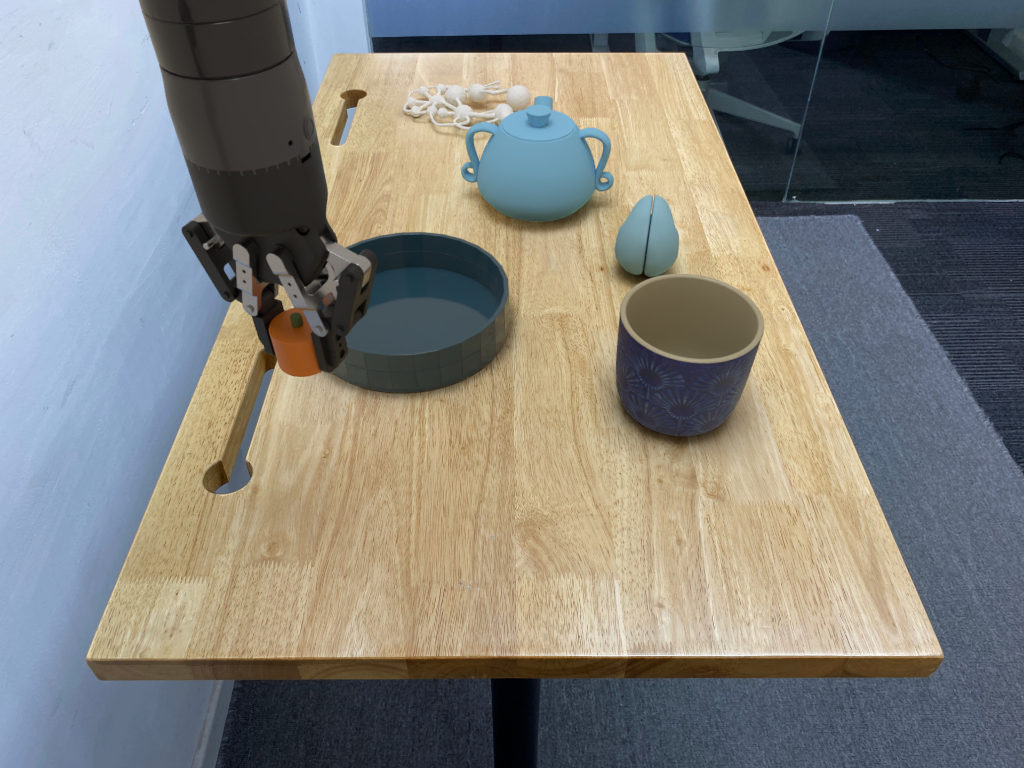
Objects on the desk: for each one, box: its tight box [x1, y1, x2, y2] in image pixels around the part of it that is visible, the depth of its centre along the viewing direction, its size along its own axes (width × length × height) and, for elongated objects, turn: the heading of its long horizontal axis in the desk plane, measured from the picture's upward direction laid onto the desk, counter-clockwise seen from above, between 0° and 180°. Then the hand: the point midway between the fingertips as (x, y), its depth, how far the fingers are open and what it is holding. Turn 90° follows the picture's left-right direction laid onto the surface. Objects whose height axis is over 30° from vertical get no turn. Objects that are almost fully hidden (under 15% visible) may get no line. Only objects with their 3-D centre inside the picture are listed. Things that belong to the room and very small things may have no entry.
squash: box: [269, 307, 323, 378], centre depth 55 cm, size 4×4×4 cm
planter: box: [615, 273, 765, 437], centre depth 71 cm, size 12×12×11 cm
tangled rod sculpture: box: [402, 79, 532, 131], centre depth 119 cm, size 19×14×4 cm
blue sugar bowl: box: [460, 95, 615, 223], centre depth 99 cm, size 20×20×13 cm
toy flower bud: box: [614, 194, 680, 278], centre depth 89 cm, size 7×9×12 cm
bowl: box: [305, 231, 510, 394], centre depth 81 cm, size 21×21×5 cm
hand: (306, 355), depth 56 cm, fingers closed on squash, 4 cm apart
